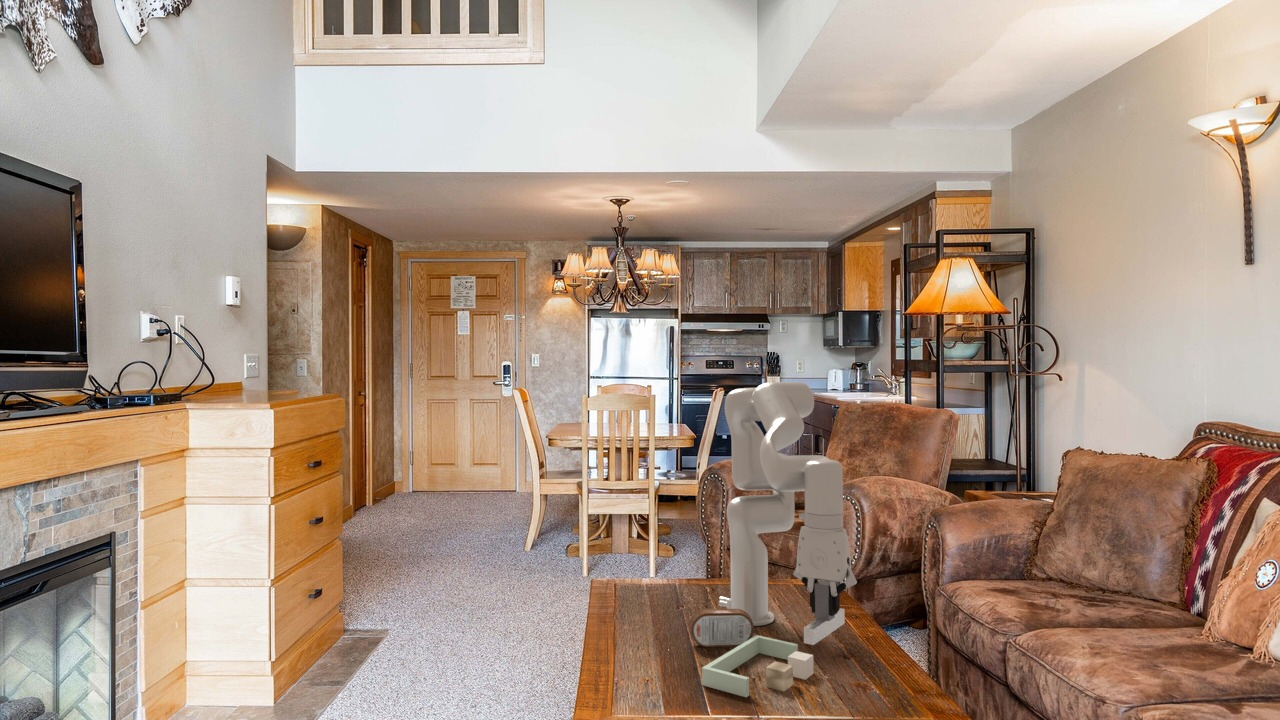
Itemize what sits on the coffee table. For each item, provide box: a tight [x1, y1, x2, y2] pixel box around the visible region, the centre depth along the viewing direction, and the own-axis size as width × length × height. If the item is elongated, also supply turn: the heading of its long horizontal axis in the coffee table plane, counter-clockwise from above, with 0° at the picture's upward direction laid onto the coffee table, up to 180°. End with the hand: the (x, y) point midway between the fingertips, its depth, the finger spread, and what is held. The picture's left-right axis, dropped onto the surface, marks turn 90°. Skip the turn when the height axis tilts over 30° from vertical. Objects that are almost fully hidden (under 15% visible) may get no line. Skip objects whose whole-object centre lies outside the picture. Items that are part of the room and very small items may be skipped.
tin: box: [688, 608, 755, 648], centre depth 180 cm, size 15×3×8 cm, turn 94°
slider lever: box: [803, 580, 846, 646], centre depth 156 cm, size 3×16×10 cm, turn 144°
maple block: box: [765, 660, 794, 692], centre depth 157 cm, size 4×4×4 cm
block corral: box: [701, 634, 799, 698], centre depth 164 cm, size 10×24×4 cm, turn 144°
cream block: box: [787, 650, 814, 681], centre depth 163 cm, size 4×4×4 cm
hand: (824, 611), depth 156 cm, fingers closed on slider lever, 3 cm apart
